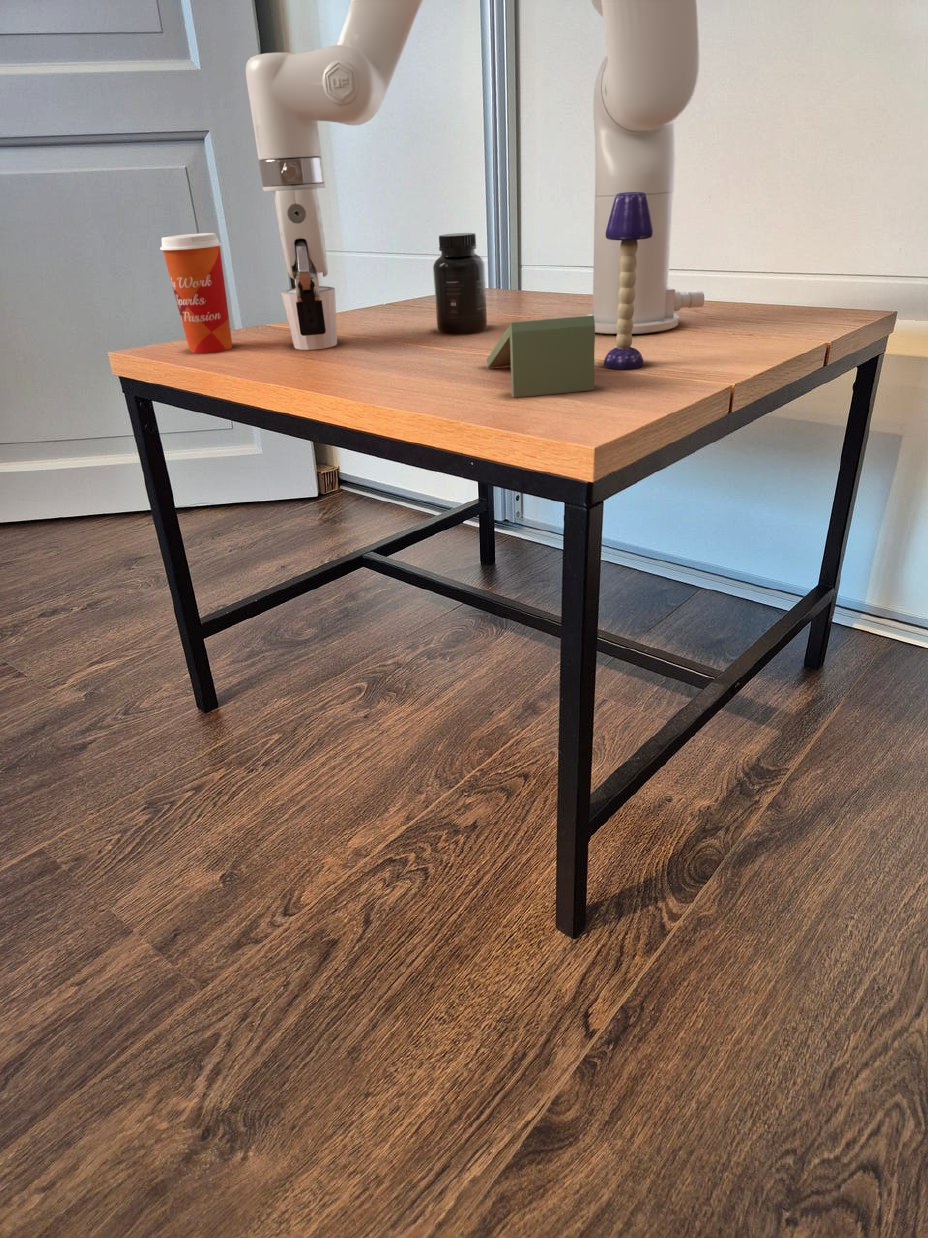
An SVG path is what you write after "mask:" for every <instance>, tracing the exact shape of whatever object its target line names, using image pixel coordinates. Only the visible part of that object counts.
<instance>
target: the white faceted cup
mask: <svg viewBox="0 0 928 1238" xmlns="http://www.w3.org/2000/svg"><path fill="white" fill-rule="evenodd" d="M318 291H319V299H320V300H322V306H323V314H324V322H325V329H326V332H325V333H324V334H319V335H307V336H302V335H301V333H300V327H299V320H298V313H297V306H296V302H298V301H297V294H296V287H294V288H289V289H287V290H283V291H281V293H280V294H281V297H282V301H283V305H284V309H285V314H286V319H287V323H288V327H289V331H290V336H291V339H292V345H293V348H295V349H296V350H300V351H309V350H310V351H312V350H313V351H315V350H322V349H328V348H332V347H334V346H335V347H336V346H337V345H338V332H337V307H336V288H335V287H333V286H325V285H319V286H318ZM314 295H315V293H314ZM315 301H316V300H315Z"/></svg>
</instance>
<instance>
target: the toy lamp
mask: <svg viewBox="0 0 928 1238" xmlns="http://www.w3.org/2000/svg"><path fill="white" fill-rule="evenodd" d="M652 234H653V230H652V223H651V218H650V212H649V206H648V201H647V196H646V194H645V193H644V192H624V193H618V194H617V195H616V197H615V199H614V203H613V207H612V210H611V214H610V218H609V221H608V225H607V229H606V238H607V239H610V240H622V241H621V245H620V250H621V254H622V256H621V259H620V269H621V273H620V276H619V283H620V286H621V287H620V289H619V294H618V298H619V302H620V303H619V305H618V309H617V314H618V317H619V319H618V321H617V332H618V334H616V338H615V346H616V347H614V348H612V349H610V350H609V351H608V352H607V353H606V356H605V357H604V361H603V366H604V367H605V368H607V369H612V370H634V369H639V368H641V367H643V366H644V357H643V355H642V353H641V352H640V351H639V350H638V349H637V348H635V347H632V343H633V334H631V332H632V329H633V319H632V317H633V314H634V304H633V301H634V299H635V288H634V285H635V282H636V273H635V269H636V266H637V258H636V255H635V254H636V252H637V248H638V242H637V240H640V239H648V238H650V237H652Z"/></svg>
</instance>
